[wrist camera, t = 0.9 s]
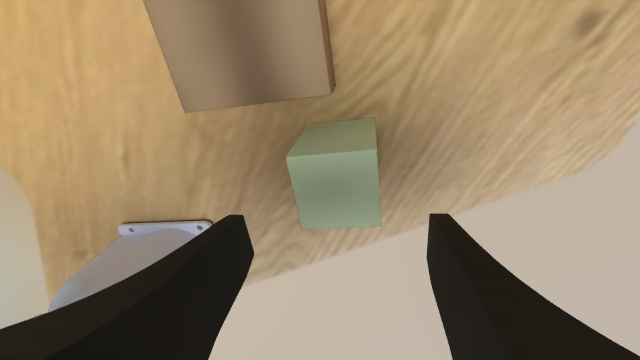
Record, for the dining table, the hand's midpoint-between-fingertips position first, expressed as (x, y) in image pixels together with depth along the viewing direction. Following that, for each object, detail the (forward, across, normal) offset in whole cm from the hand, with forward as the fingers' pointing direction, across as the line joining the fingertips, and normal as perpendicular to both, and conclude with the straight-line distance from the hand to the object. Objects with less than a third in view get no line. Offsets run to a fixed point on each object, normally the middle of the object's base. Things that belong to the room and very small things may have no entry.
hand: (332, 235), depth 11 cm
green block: (+10, 0, 0) cm, 10 cm away
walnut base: (+10, +5, -8) cm, 14 cm away
